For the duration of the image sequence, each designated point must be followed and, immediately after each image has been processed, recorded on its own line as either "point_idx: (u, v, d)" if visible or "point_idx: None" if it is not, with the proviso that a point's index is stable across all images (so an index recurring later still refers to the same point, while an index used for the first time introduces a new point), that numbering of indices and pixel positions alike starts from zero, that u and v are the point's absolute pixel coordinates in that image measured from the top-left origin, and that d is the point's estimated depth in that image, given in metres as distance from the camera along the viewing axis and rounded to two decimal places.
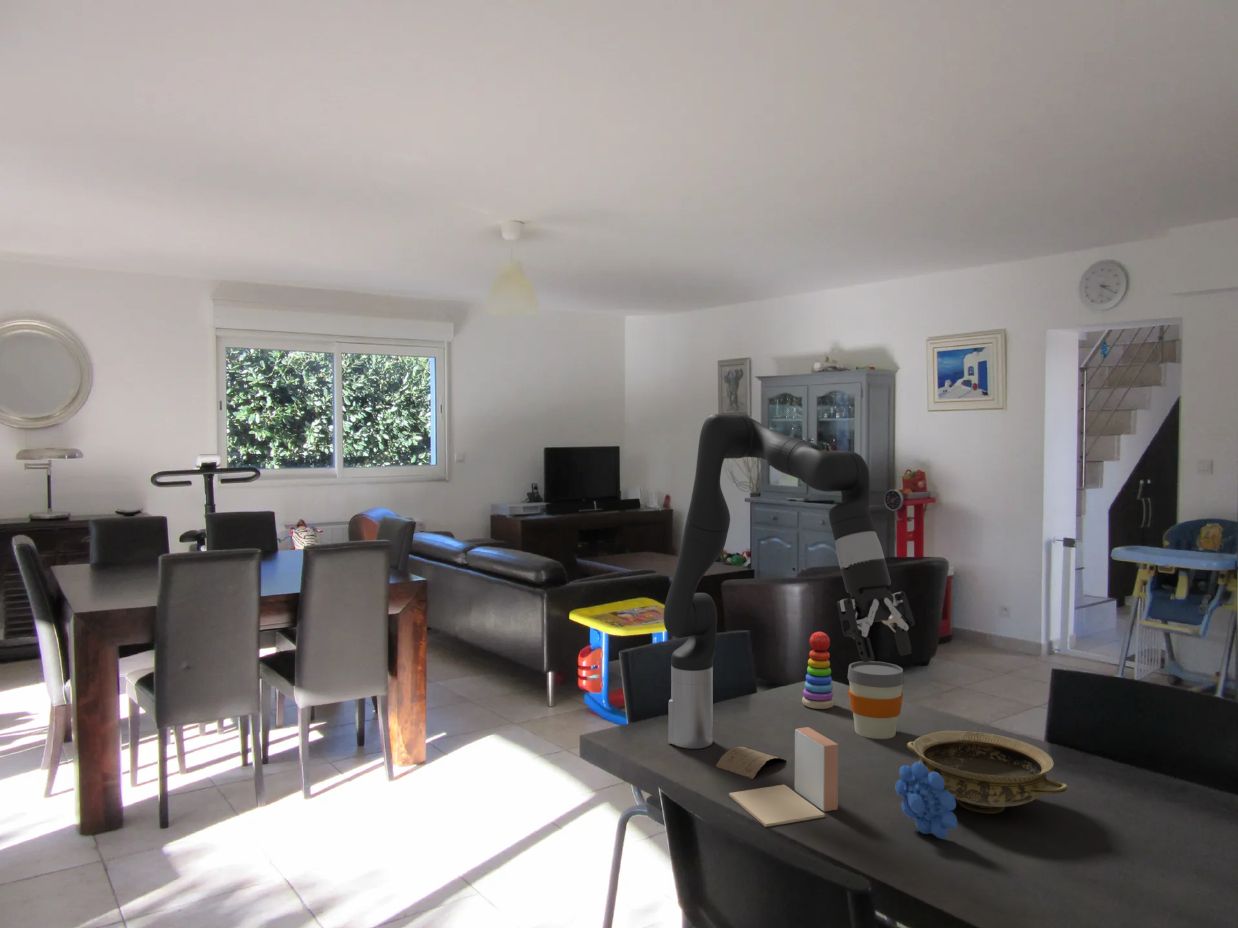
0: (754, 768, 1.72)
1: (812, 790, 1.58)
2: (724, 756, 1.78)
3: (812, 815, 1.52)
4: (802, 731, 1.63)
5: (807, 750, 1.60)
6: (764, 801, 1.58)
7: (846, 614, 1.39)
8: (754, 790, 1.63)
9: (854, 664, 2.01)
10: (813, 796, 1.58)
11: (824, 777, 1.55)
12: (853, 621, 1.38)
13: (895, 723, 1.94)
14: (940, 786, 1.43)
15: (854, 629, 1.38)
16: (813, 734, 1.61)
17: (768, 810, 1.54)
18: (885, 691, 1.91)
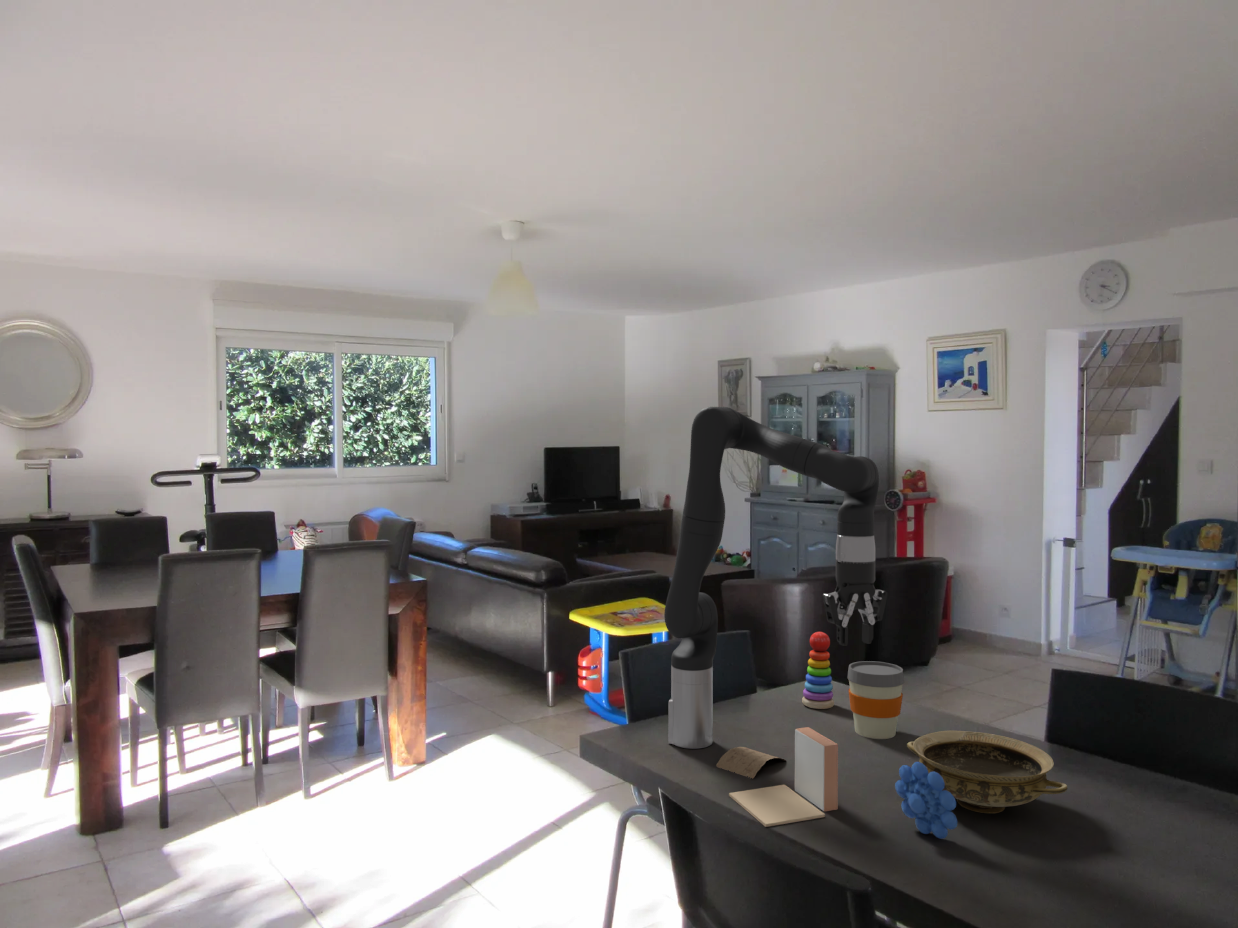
0: (754, 768, 1.72)
1: (812, 790, 1.58)
2: (724, 756, 1.78)
3: (812, 815, 1.52)
4: (802, 731, 1.63)
5: (807, 750, 1.60)
6: (764, 801, 1.58)
7: (829, 608, 1.65)
8: (754, 790, 1.63)
9: (854, 664, 2.01)
10: (813, 796, 1.58)
11: (824, 777, 1.55)
12: (835, 614, 1.65)
13: (895, 723, 1.94)
14: (940, 786, 1.43)
15: (835, 621, 1.65)
16: (813, 734, 1.61)
17: (768, 810, 1.54)
18: (885, 691, 1.91)
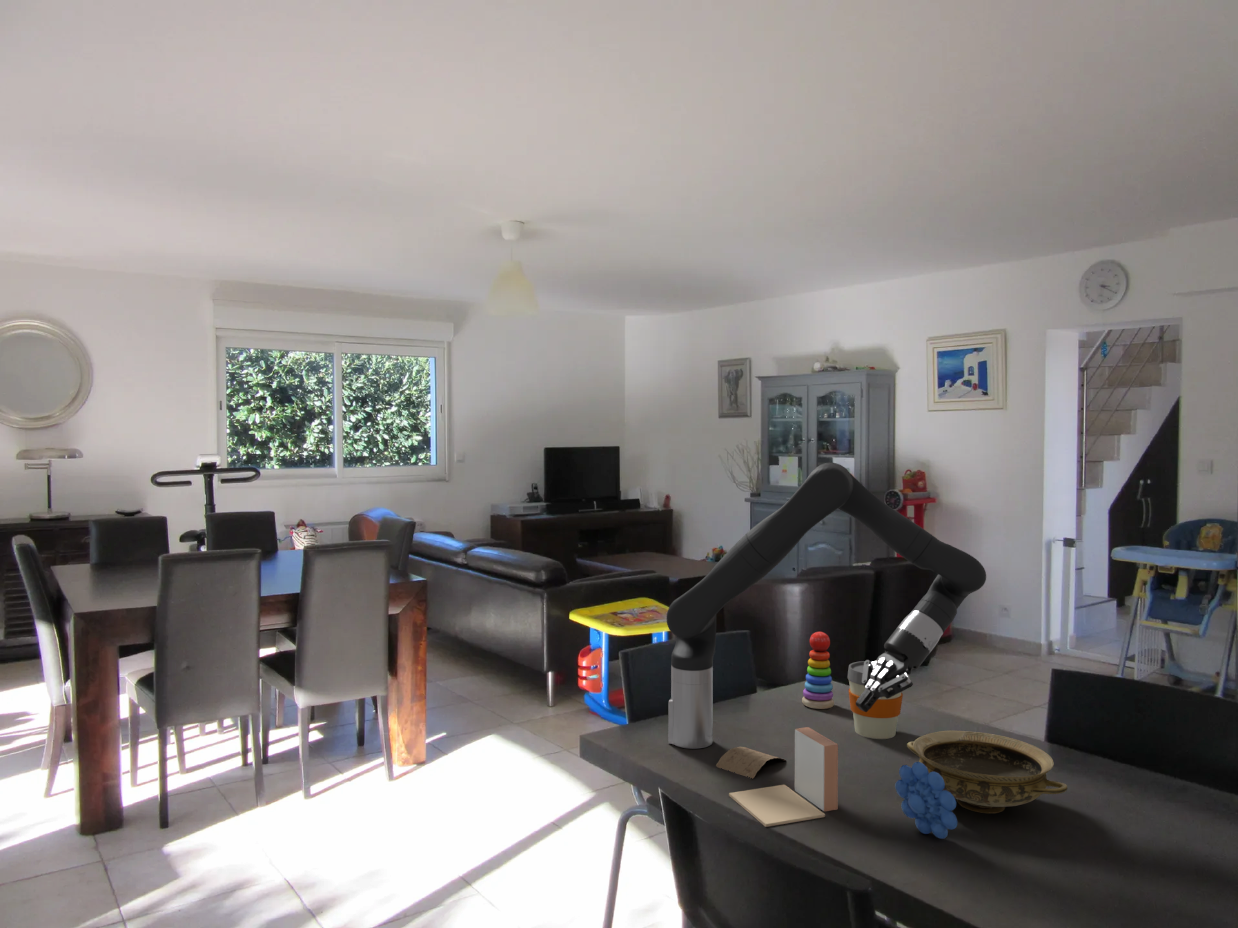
0: (754, 768, 1.72)
1: (812, 790, 1.58)
2: (724, 756, 1.78)
3: (812, 815, 1.52)
4: (802, 731, 1.63)
5: (807, 750, 1.60)
6: (764, 801, 1.58)
7: (899, 689, 1.60)
8: (754, 790, 1.63)
9: (854, 664, 2.01)
10: (813, 796, 1.58)
11: (824, 777, 1.55)
12: None
13: (895, 723, 1.94)
14: (940, 786, 1.43)
15: None
16: (813, 734, 1.61)
17: (768, 810, 1.54)
18: None
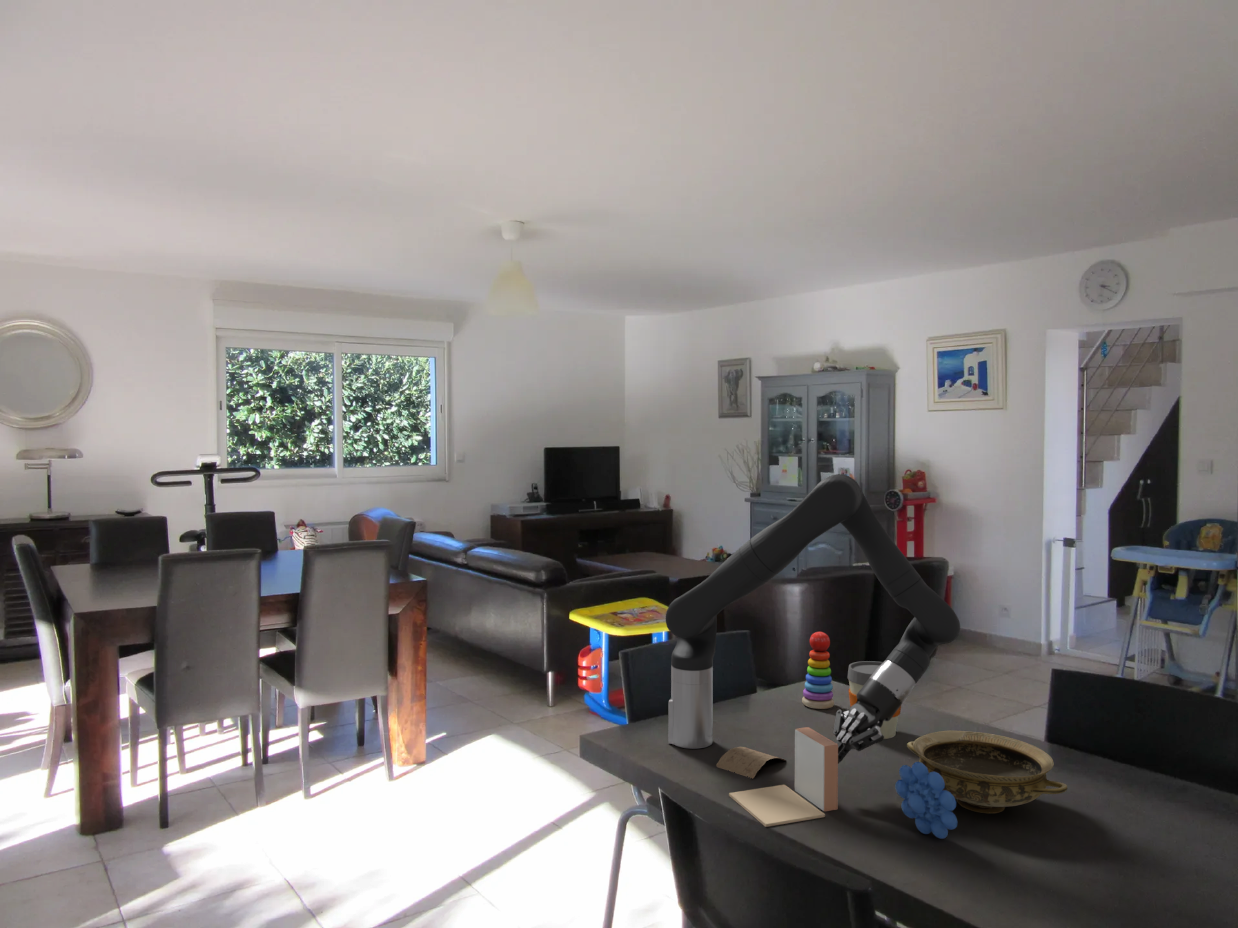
0: (754, 768, 1.72)
1: (812, 790, 1.58)
2: (724, 756, 1.78)
3: (812, 815, 1.52)
4: (802, 731, 1.63)
5: (807, 750, 1.60)
6: (764, 801, 1.58)
7: (870, 742, 1.58)
8: (754, 790, 1.63)
9: (854, 664, 2.01)
10: (813, 796, 1.58)
11: (824, 777, 1.55)
12: None
13: (895, 723, 1.94)
14: (940, 786, 1.43)
15: None
16: (813, 734, 1.61)
17: (768, 810, 1.54)
18: None
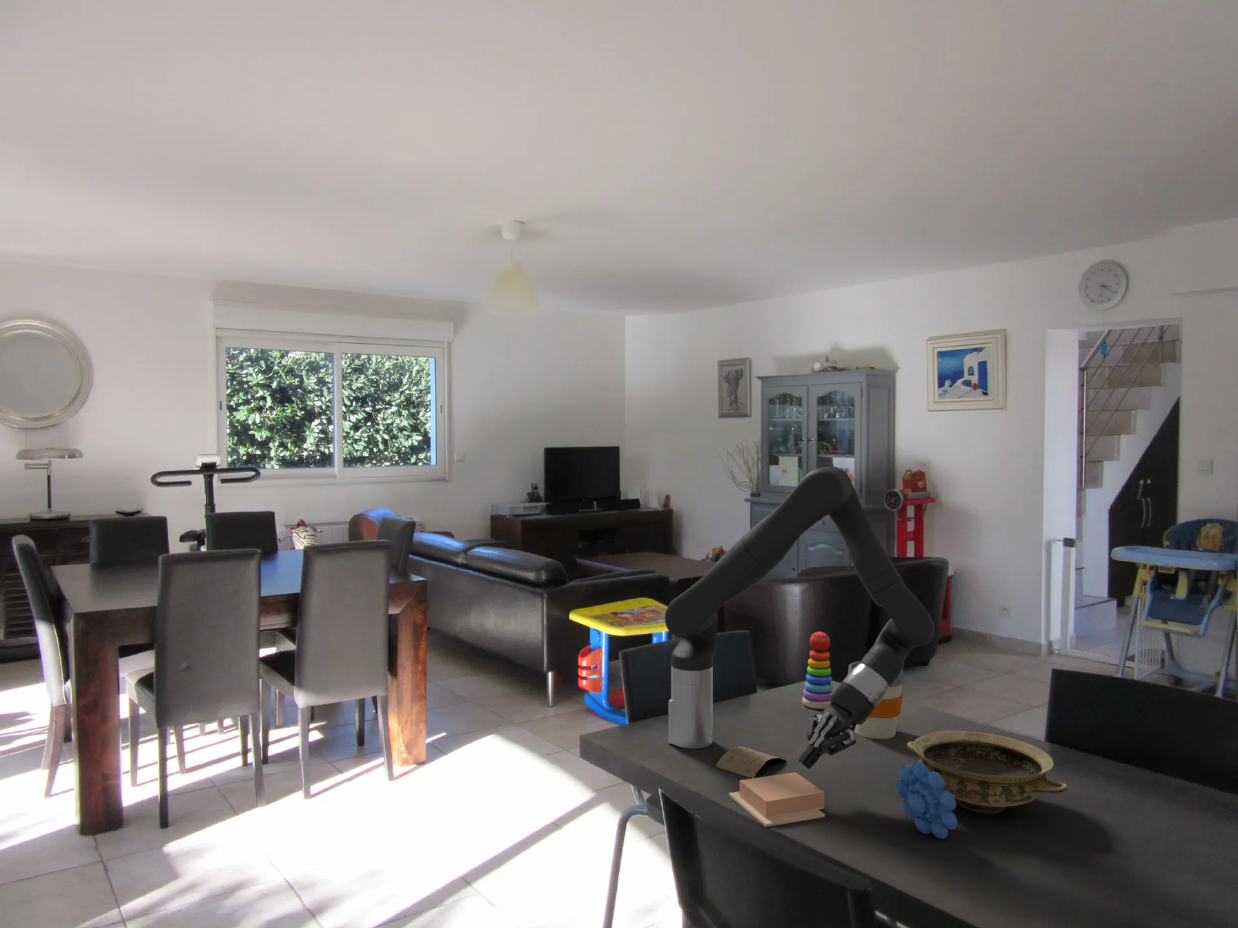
0: (754, 768, 1.72)
1: None
2: (724, 756, 1.78)
3: (812, 815, 1.52)
4: (744, 796, 1.59)
5: None
6: None
7: (842, 746, 1.56)
8: None
9: (854, 664, 2.01)
10: None
11: (794, 811, 1.53)
12: None
13: (895, 723, 1.94)
14: (940, 786, 1.43)
15: None
16: (750, 797, 1.56)
17: None
18: None
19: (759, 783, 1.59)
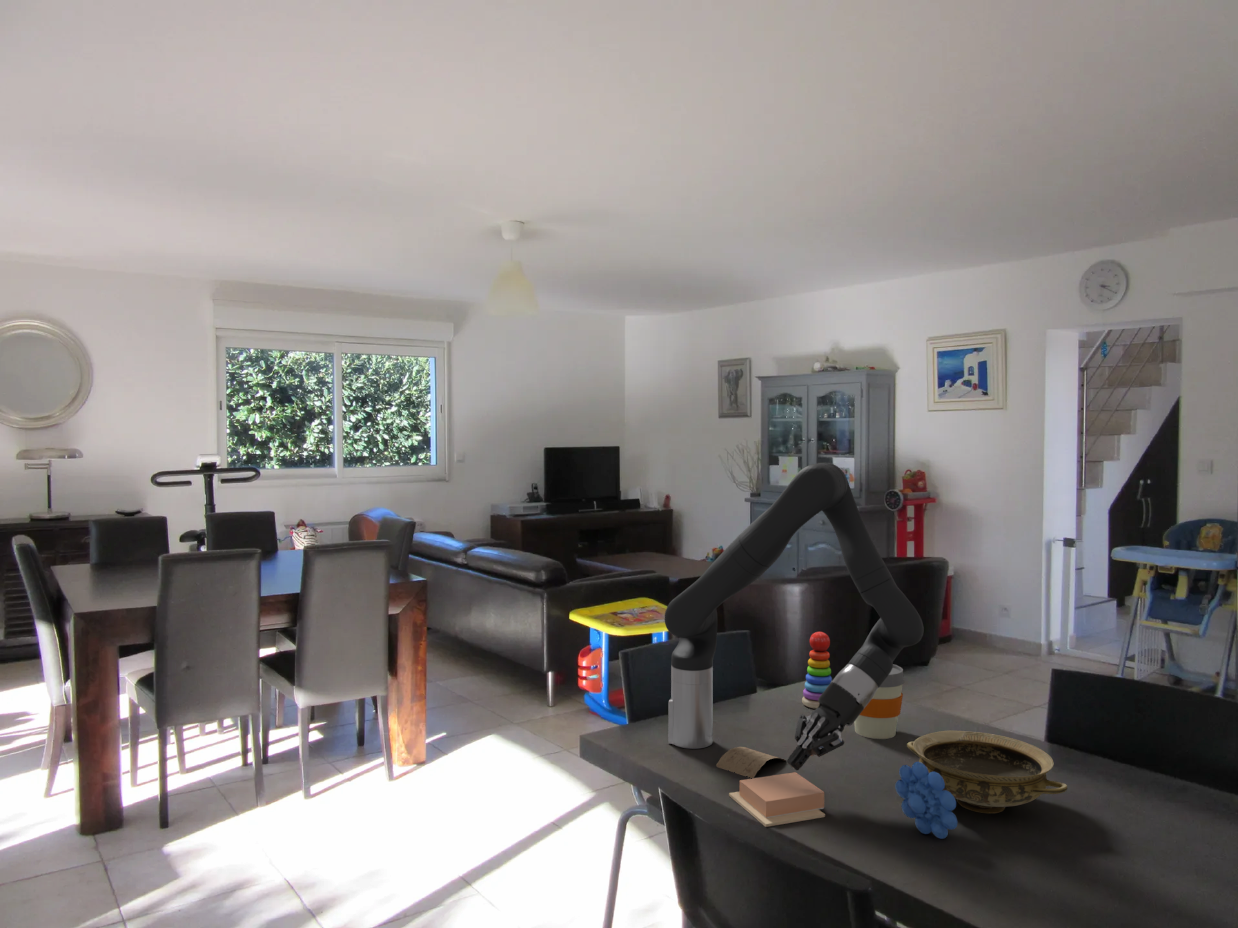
0: (754, 768, 1.72)
1: None
2: (724, 756, 1.78)
3: (812, 815, 1.52)
4: (744, 796, 1.59)
5: None
6: None
7: (830, 747, 1.55)
8: None
9: None
10: None
11: (794, 811, 1.53)
12: None
13: (895, 723, 1.94)
14: (940, 786, 1.43)
15: None
16: (750, 797, 1.56)
17: None
18: (885, 691, 1.91)
19: (759, 783, 1.59)
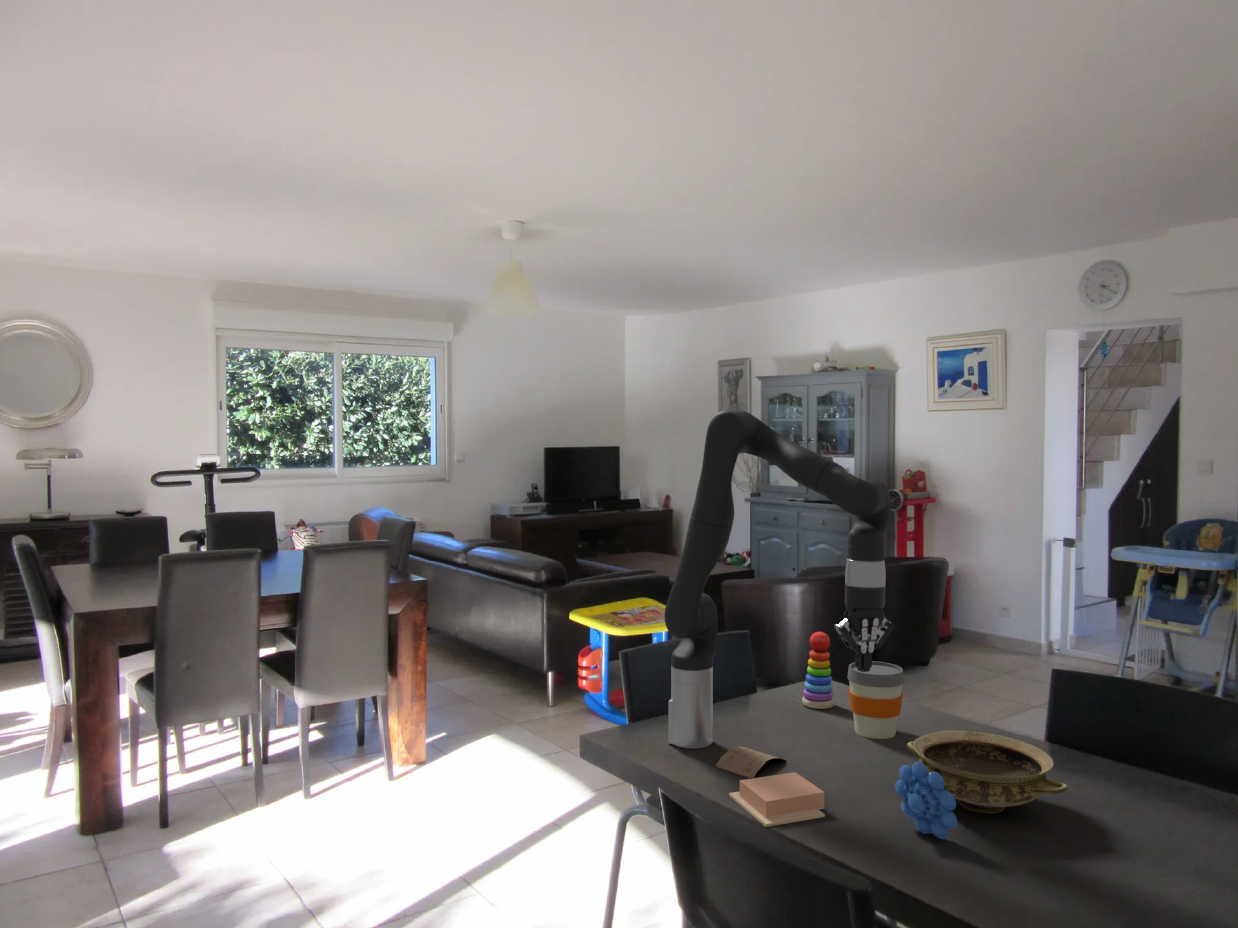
0: (754, 768, 1.72)
1: None
2: (724, 756, 1.78)
3: (812, 815, 1.52)
4: (744, 796, 1.59)
5: None
6: None
7: (844, 638, 1.64)
8: None
9: (854, 664, 2.01)
10: None
11: (794, 811, 1.53)
12: (852, 642, 1.64)
13: (895, 723, 1.94)
14: (940, 786, 1.43)
15: (854, 647, 1.64)
16: (750, 797, 1.56)
17: None
18: (885, 691, 1.91)
19: (759, 783, 1.59)
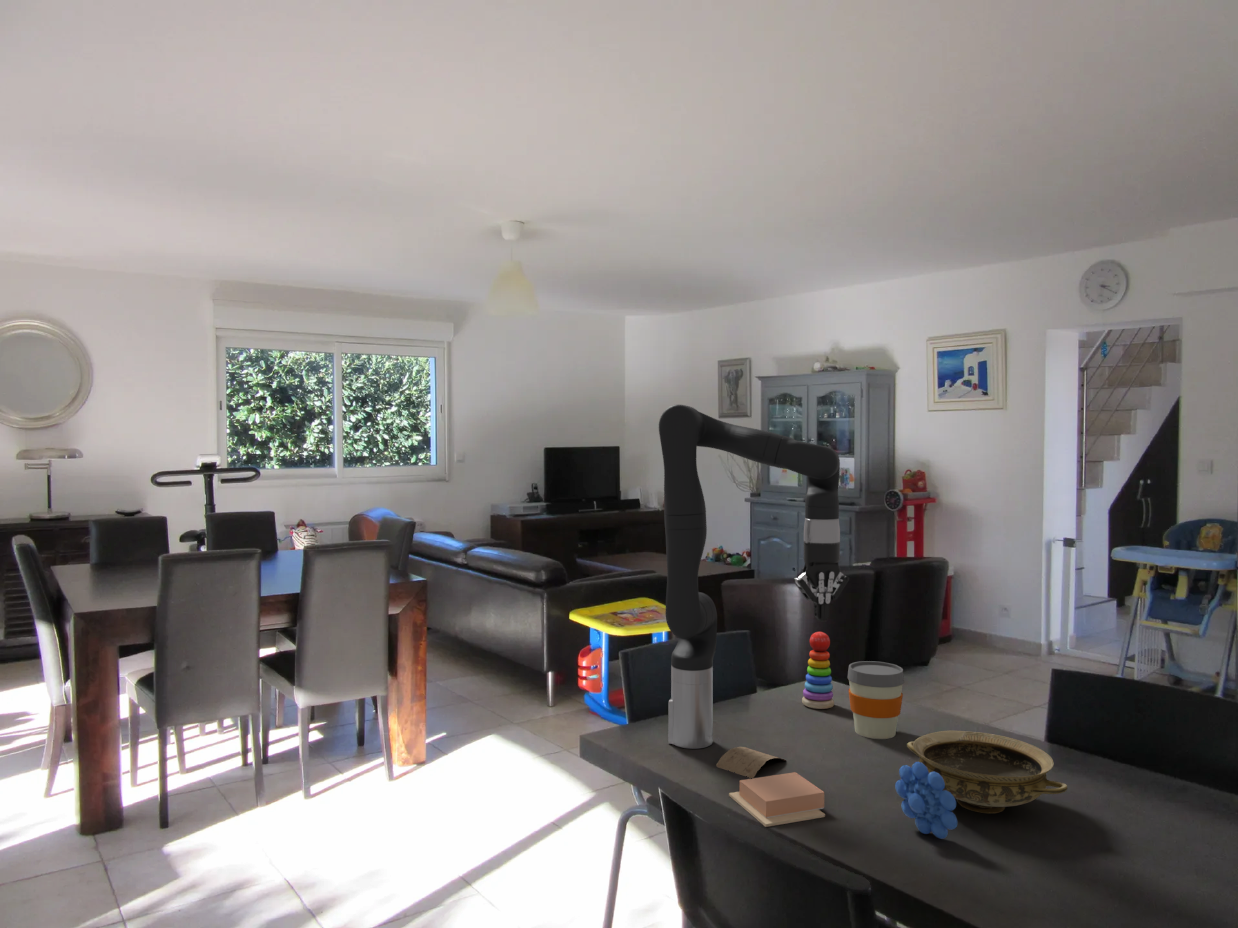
0: (754, 768, 1.72)
1: None
2: (724, 756, 1.78)
3: (812, 815, 1.52)
4: (744, 796, 1.59)
5: None
6: None
7: (803, 590, 1.80)
8: None
9: (854, 664, 2.01)
10: None
11: (794, 811, 1.53)
12: (810, 593, 1.80)
13: (895, 723, 1.94)
14: (940, 786, 1.43)
15: (812, 598, 1.80)
16: (750, 797, 1.56)
17: None
18: (885, 691, 1.91)
19: (759, 783, 1.59)
